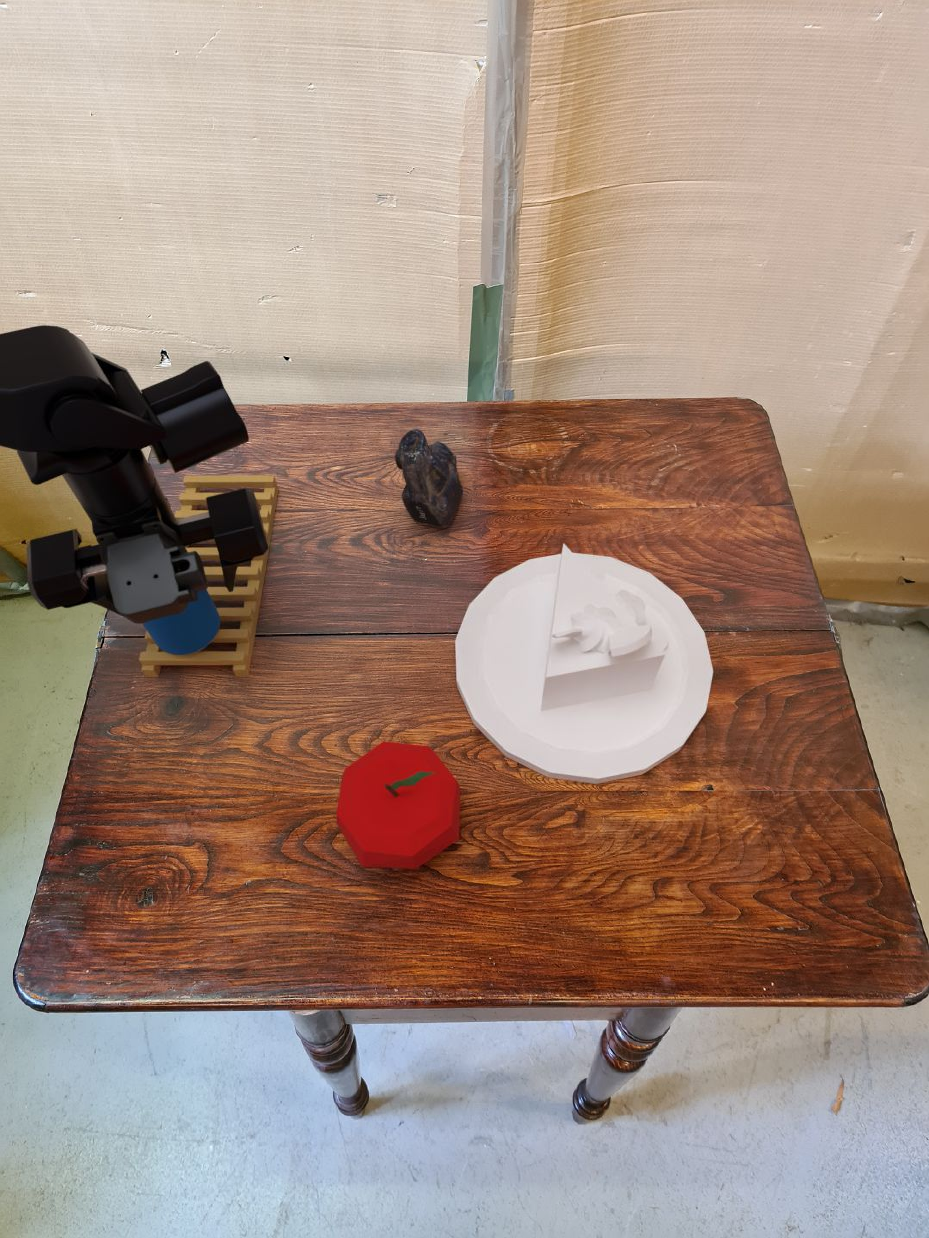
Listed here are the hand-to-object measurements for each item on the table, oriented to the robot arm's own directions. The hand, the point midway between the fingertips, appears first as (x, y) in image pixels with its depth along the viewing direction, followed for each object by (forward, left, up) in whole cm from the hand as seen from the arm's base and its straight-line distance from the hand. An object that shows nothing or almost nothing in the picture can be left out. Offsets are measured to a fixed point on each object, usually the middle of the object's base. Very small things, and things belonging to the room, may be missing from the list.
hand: (180, 601), depth 73 cm
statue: (+27, +9, -8) cm, 29 cm away
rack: (+3, +8, -8) cm, 11 cm away
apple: (+14, -24, -8) cm, 29 cm away
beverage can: (-1, 0, -5) cm, 5 cm away
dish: (+35, -14, -8) cm, 38 cm away
